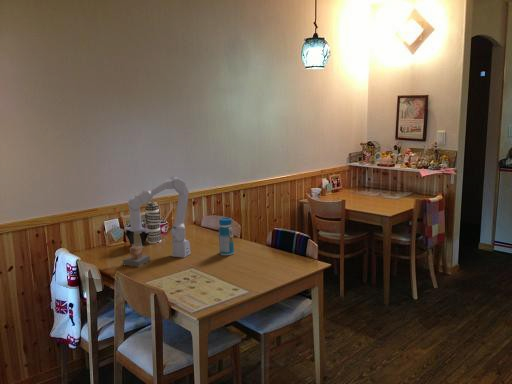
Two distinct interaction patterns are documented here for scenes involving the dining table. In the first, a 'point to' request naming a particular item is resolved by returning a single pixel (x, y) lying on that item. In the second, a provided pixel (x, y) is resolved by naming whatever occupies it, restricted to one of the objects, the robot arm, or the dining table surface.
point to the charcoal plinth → (136, 261)
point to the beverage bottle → (226, 237)
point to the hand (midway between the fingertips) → (137, 244)
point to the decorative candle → (153, 222)
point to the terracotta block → (136, 252)
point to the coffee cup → (137, 238)
